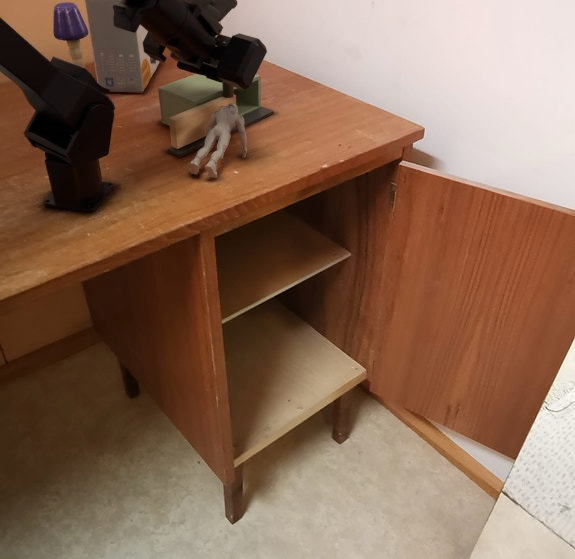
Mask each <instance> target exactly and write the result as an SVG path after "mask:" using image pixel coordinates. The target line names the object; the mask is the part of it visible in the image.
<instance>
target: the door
mask: <svg viewBox="0 0 575 559" xmlns="http://www.w3.org/2000/svg"><path fill="white" fill-rule="evenodd" d="M222 89H223V96H222V97H219V98H217V99H214V100H212V101H210V102H207V103H205V104H202V105H200V106H197V107H195V108H192V109H190V110H187V111H185V112H182V113H180V114H177V115H175V116H172V117H170V118H169V125H170V126H169V125H168V126H169V135H170V144H171V147H174V148H176V149H179V148H181V147H183V146H185V145H187V144H190V143H192V142H194V141H196V140H198V139H201V138H203V137H205V136H206V126H207V125H208V124H209V120H210V118H211V115H212V113H213V112H215V111H218V108H219V107H221V106H225V107H226V106H228V104H230V103H234V104H236V95H234V87H233V86H230V85H228V84H226V83H224V82H222Z"/></svg>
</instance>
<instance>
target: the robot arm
mask: <svg viewBox="0 0 575 559" xmlns="http://www.w3.org/2000/svg"><path fill="white" fill-rule="evenodd" d="M237 6H238V0H121V1H120V3H118V4H114V5H113V10H114V16H113V24H114V26H115V27H116V28H120V29H123V30H126V31H130V32H133V33H135V32H136V31H137V30H138V28H139V25H141V26H142V27H143V28H145V29H146V30H147V31H148V33H147V35H146V37H145V39H144V41H143V49H144V53H146V54H147V55H148V56H149V57H151V58H152V59H154V60H157V61H159V63H163V64H165V63H166V61H167V56H166V55H164V52H165V50H166V49H168V50H169V51H170V53H169V57H170V58H171V59H173V60H174V61H177V62H176V67H177V69H179V70H182V71H185V72H188V73H191V74H199V75H203V76H206V78H208V79H211V80H214V81H217V82H220V83H222V82H224V83H226V84H228V85H230V86H233V87H236V88H239V89H242V90H246V89H247V88H249V87H250V85H251V83H252V81H253V79H254V77H255V75H256V74H258V71H259V69H260V67H261V65H262V63H263V61H264V59H265V57H266V55H267V52H268V50H267V47H266V45H265V44H264V43H263V42H262V41H261V40H260V39H259V38H258V37H254V36H250V35H247V34H244V33H236V34H234V35H232V36H227V35H224V34H221V33H222V31H223V29H224V26H223V25H222V24H221V23H220V22H221V21H223V19H224V18H226V16H227V15H228V14H229V13H230V12H231V11H232V10H233V9H235V8H236V7H237ZM0 73H1V74H2V75H4V76H5V77H6V78H8V79H9V80H10V81H11V82H13V83H14V84H15V85H16V86H17V87H18V88H19V89H20V90H21V92H22V93H23V96H25V99H26V102H28V104H29V105H30V106H31V107H32V108H33V110H34V113H33V114H32V116H31V118H30V120H29V122H28V124H27V126H26V127H25V130H24V132H23V135H24V137H25V139H26V140H27V141H28V142H29V144H30V146H31V147H33V148H36V149H38V150H40V151H43V152H44V158H45V159H44V165H45V169H46V174H47V177H48V181H49V184H50V189H51V193H50V194H49V195H48V196H47V197H46V198H45V199H43V201H42V202H43V206H44V207H45V208H53V209H54V208H55V209H62V210H70V211H78V212H87V213H94V212H95V211H96V210H97V209H98V208H99V206H100V205H101V204H102V203H103V202H104V200H105V199H106V198H107V197H108V196H109V195H110V194H111V192H112V191H113V190H114V189H115V183H114V182H109V181H103V175H102V171H101V165H100V164H101V163H100V159H102V158H105V157H107V156H109V155H110V148H111V140H112V132H113V125H114V120H115V110H116V106H115V103H114V101H113V100H112V99H111V98H110V96H109V95H108V94H109V93H110V89H107V88H105V87H102V86H101V85H99V84H98V83H97V79H95V77H94V76H93V75H92V73H90V71H89V70H88V69H87V68H86V67H84V68H83V67H80V66H78V65H75V64H72V62H69V61H68V60H64V59H62V58H59V57H56V56H53V55H52V57H51V59H50V60H49V59H48V58H47V57H46V56H45V55H44V54H42V52H40V51H39V50H38V49H37V48H36V47H34V46H33V45H32V43H30V42H29V41H28V40H26V39H25V37H24V36H22V35H21V34H20V33H19V32H18V31H16V30H15V28H13V27H12V26H10V24H8V23H7V22H6V21H5V20H4V19H3V18H2V17H0Z"/></svg>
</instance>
